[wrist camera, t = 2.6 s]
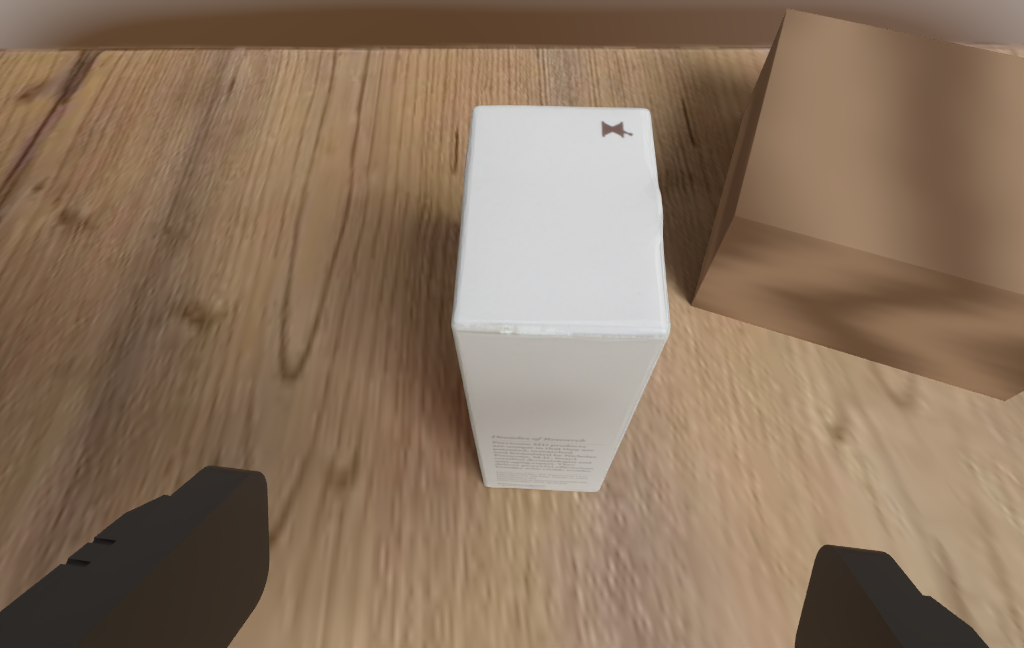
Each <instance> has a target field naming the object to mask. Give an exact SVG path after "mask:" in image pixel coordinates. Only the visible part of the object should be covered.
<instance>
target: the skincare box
mask: <svg viewBox="0 0 1024 648" xmlns="http://www.w3.org/2000/svg"><path fill="white" fill-rule="evenodd" d="M670 327H671V325H670V315H669V304H668V294H667V284H666V272H665V262H664V249H663V208H662V198H661V193H660V190H659V185H658V177H657V167H656V158H655V149H654V141H653V131H652V122H651V114H650V111H649V110H648V109H646V108H609V107H565V106H526V105H492V106H476V107H474V109H473V110H472V117H471V125H470V133H469V140H468V147H467V154H466V163H465V172H464V185H463V202H462V216H461V227H460V238H459V248H458V259H457V270H456V281H455V291H454V302H453V313H452V320H451V328H452V331H453V337H454V342H455V347H456V352H457V357H458V361H459V366H460V371H461V376H462V380H463V387H464V391H465V396H466V401H467V406H468V411H469V416H470V421H471V426H472V431H473V435H474V440H475V445H476V449H477V455H478V459H479V464H480V469H481V473H482V478H483V484H484V485H485V486H487V487H491V488H524V489H542V490H560V491H580V492H597V491H599V489H600V487H601V485H602V483H603V481H604V478H605V476H606V474H607V472H608V470H609V467H610V465H611V463H612V461H613V458H614V456H615V454H616V452H617V450H618V447H619V445H620V443H621V441H622V439H623V436H624V434H625V432H626V430H627V427H628V425H629V423H630V421H631V419H632V416H633V414H634V412H635V410H636V407H637V405H638V403H639V401H640V399H641V396H642V394H643V392H644V390H645V388H646V385H647V383H648V381H649V379H650V377H651V374H652V372H653V369H654V367H655V365H656V363H657V361H658V358H659V356H660V353H661V351H662V349H663V347H664V345H665V343H666V341H667V339H668V336H669V334H670Z"/></svg>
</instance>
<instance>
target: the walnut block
mask: <svg viewBox="0 0 1024 648" xmlns="http://www.w3.org/2000/svg"><path fill="white" fill-rule="evenodd" d="M691 306H693V307H697V308H700V309H703V310H707V311H710V312H713V313H716V314H720V315H723V316H726V317H730V318H733V319H736V320H739V321H743V322H746V323H749V324H753V325H756V326H759V327H763V328H766V329H769V330H772V331H776V332H779V333H782V334H786V335H789V336H792V337H795V338H799V339H802V340H805V341H809V342H812V343H815V344H819V345H822V346H825V347H828V348H832V349H835V350H838V351H842V352H845V353H848V354H851V355H855V356H858V357H861V358H865V359H868V360H871V361H874V362H878V363H881V364H884V365H888V366H891V367H894V368H898V369H901V370H904V371H907V372H911V373H914V374H917V375H921V376H924V377H927V378H930V379H934V380H937V381H940V382H944V383H947V384H950V385H953V386H957V387H960V388H963V389H967V390H970V391H973V392H977V393H980V394H983V395H986V396H990V397H993V398H996V399H1000V400H1003V401H1006V400H1008V399H1009V398H1011V397H1013V396H1015V395H1017V394H1019V393H1020V392H1022V391H1024V58H1022V57H1017V56H1012V55H1008V54H1003V53H998V52H993V51H988V50H984V49H979V48H974V47H969V46H964V45H960V44H955V43H950V42H945V41H941V40H936V39H931V38H926V37H921V36H916V35H912V34H907V33H902V32H897V31H892V30H888V29H883V28H878V27H873V26H869V25H864V24H859V23H854V22H849V21H845V20H840V19H835V18H830V17H826V16H821V15H816V14H811V13H806V12H802V11H797V10H792V9H787V10H786V13H785V15H784V18H783V20H782V23H781V25H780V27H779V30H778V32H777V35H776V37H775V40H774V42H773V44H772V47H771V49H770V52H769V54H768V57H767V59H766V61H765V64H764V66H763V69H762V71H761V74H760V76H759V78H758V81H757V83H756V86H755V88H754V91H753V93H752V96H751V98H750V100H749V103H748V105H747V108H746V110H745V113H744V115H743V118H742V122H741V125H740V129H739V133H738V136H737V140H736V144H735V147H734V151H733V155H732V158H731V162H730V166H729V169H728V173H727V176H726V180H725V184H724V187H723V191H722V195H721V198H720V202H719V206H718V209H717V213H716V217H715V220H714V224H713V228H712V231H711V235H710V238H709V242H708V246H707V249H706V253H705V257H704V260H703V264H702V268H701V271H700V275H699V279H698V282H697V286H696V290H695V293H694V297H693V300H692V304H691Z"/></svg>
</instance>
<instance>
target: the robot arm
mask: <svg viewBox="0 0 1024 648" xmlns="http://www.w3.org/2000/svg"><path fill="white" fill-rule="evenodd" d="M268 571H269V531H268V497H267V483H266V479H265V476H264V475H263V474H262V473H261V472H258V471H251V470H243V469H235V468H227V467H219V466H207V467H205V468H204V469H202V470H201V471H200V472H198V473H197V474H196V475H195V476H194V477H192V478H191V479H190V480H189V481H188V482H186V483H185V484H184V485H183V486H182V487H180V488H179V489H178V490H177V491H176V492H174V493H173V494H172V495H171V496H168V495H163V496H161V497H159V498H157V499H155V500H153V501H150V502H148V503H146V504H144V505H142V506H140V507H138V508H135V509H133V510H131V511H129V512H127V513H125V514H124V515H122V516H121V517H120V518H119V519H117V520H116V521H115V522H114V523H112V524H111V525H110V526H108V527H107V528H106V529H105V530H103V531H102V532H101V533H100V534H98V535H97V536H96V537H95V538H94V541H93V543H87V544H86V545H84V546H83V547H82V548H81V549H79V550H78V551H77V552H76V553H74V554H73V555H72V556H70V557H69V558H68V561H67V563H66V564H65V565H64V564H60V565H59V566H58V567H57V568H55V569H54V570H53V571H51V572H50V573H49V574H48V575H46V576H45V577H44V578H43V579H41V580H40V581H39V582H38V583H36V584H35V585H34V586H32V587H31V588H30V589H29V590H27V591H26V592H25V593H24V594H22V595H21V596H20V597H19V598H17V599H16V600H15V601H13V602H12V603H11V604H10V605H8V606H7V607H6V608H5V609H3V610H2V611H1V612H0V648H227V647H228V645H229V644H230V643H231V641H232V640H233V638H234V637H235V636H236V634H237V633H238V631H239V630H240V628H241V627H242V626H243V624H244V623H245V621H246V620H247V619H248V617H249V616H250V614H251V613H252V612H253V610H254V609H255V607H256V605H257V604H258V602H259V600H260V598H261V595H262V593H263V590H264V587H265V584H266V580H267V576H268ZM795 648H989V647H988V646H987V645H986V643H985V642H984V641H983V640H982V639H981V638H980V636H979V635H978V634H977V633H976V632H975V631H974V629H973V628H972V627H970V626H969V625H968V624H966V623H965V622H964V621H962V620H961V619H960V618H958V617H957V616H956V615H954V614H953V613H952V612H950V611H949V610H948V609H946V608H945V607H944V606H943V605H941V604H940V603H939V602H937V601H936V600H935V599H933V598H932V597H931V596H923V595H922V594H921V593H920V591H919V590H918V589H917V588H916V586H915V585H914V584H913V583H912V582H911V580H910V579H909V578H908V577H907V575H906V574H905V573H904V572H903V570H902V569H901V568H900V567H899V565H898V564H897V563H896V562H895V560H894V559H893V558H892V557H891V556H890V555H889V554H887V553H885V552H882V551H875V550H867V549H859V548H851V547H843V546H835V545H824V546H823V547H821V548H820V550H819V551H818V553H817V555H816V558H815V562H814V566H813V570H812V574H811V578H810V582H809V586H808V590H807V594H806V598H805V601H804V605H803V609H802V613H801V617H800V621H799V625H798V629H797V633H796V639H795Z"/></svg>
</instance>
